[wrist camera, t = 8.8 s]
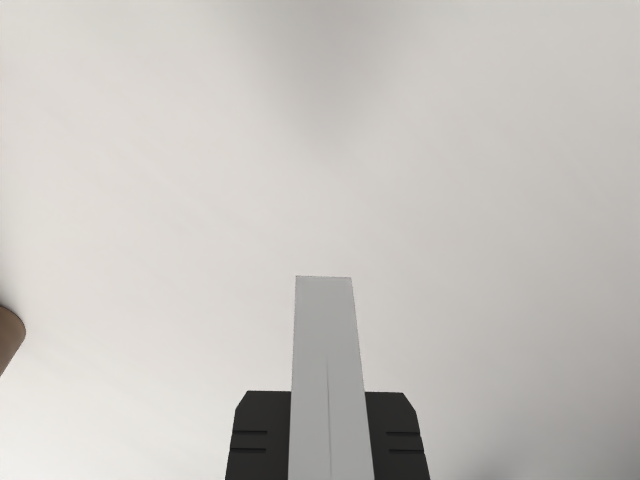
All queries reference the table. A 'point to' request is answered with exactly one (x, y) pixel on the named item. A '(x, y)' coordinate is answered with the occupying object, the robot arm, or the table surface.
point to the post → (9, 336)
